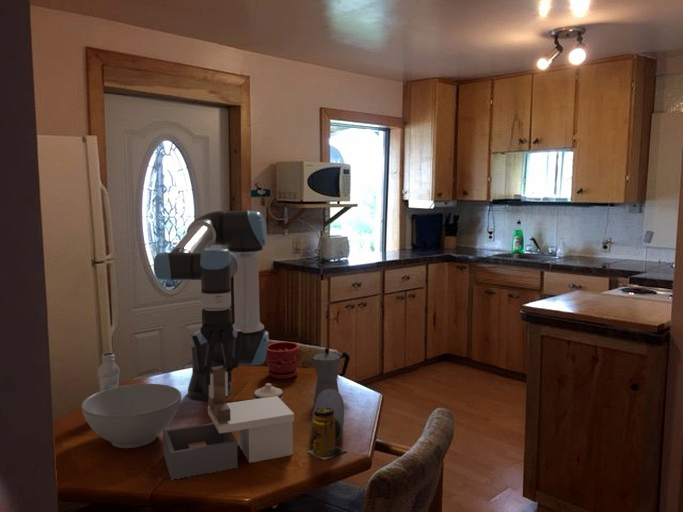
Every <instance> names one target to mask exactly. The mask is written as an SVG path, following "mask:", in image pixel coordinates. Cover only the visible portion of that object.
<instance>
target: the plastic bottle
mask: <svg viewBox="0 0 683 512" xmlns="http://www.w3.org/2000/svg"><path fill="white" fill-rule="evenodd" d="M115 358H116V356H115V353H114V352H106V353H102V354H101V362H102V363H101V364H100V365H99V367H98V369H97V376H98V383H99V388H100V389H99V390H100V391H103V390H107V389H110V388H114V387H119V386H120V385H119V384H120V383H119V381H120V380H119V379H120V367H119V366H118V364H117V363H116V362H115V360H116V359H115Z"/></svg>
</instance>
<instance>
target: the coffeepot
mask: <svg viewBox="0 0 683 512" xmlns="http://www.w3.org/2000/svg"><path fill="white" fill-rule="evenodd" d="M324 351H325V352H324V353H323V352H321V353H318V354H315V355H313V357H311V358H310V359H308V361H309V362H310V363H311V364H312V366H313V367H314V369H315V371H316V379H317V380H316V385H315V391H314V396H313V397H314V402H316V399H317V397H318V395H319V394H320V393H321V392H322V391H323V390H326V389H334V390H336V391H338V392H339V393H340V391H339V385H338V380H337V378H338V376H340V377H342V376H346V373H347V369H348V366H349V362H350V358H351V357H350V355H349V354H348V353H347V352H346V351H345V352H338V353H332V352H330V348H329V347H326V348H324ZM341 359H344V361H343V366H342V372H340V373H339V370H340V369H339V368H340V362H341Z"/></svg>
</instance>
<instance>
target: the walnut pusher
mask: <svg viewBox="0 0 683 512" xmlns="http://www.w3.org/2000/svg"><path fill="white" fill-rule="evenodd" d="M211 371H212V373H213V384H214V398H211V397H210V396H209V394H208V400H207V406H209V407H210V408H211V410H212V412H213V414H214V415H215V417H216V419H217V420H218V422H226V421H231V419H230V408H229V407H228V405H227V404H226V403H227V402H226V401H227V400H226V397H225V369H224V367H223V366H217V367H211Z"/></svg>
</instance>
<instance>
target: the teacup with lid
mask: <svg viewBox="0 0 683 512" xmlns="http://www.w3.org/2000/svg"><path fill="white" fill-rule="evenodd" d="M283 395H284V392H283V390H282V389H281V388H279V387H275V386H273V385H272V383H269V382H267V383H265V384H264V386H262V387H261V388H258V389H256V390H255V391H254V392H253V398H254V399H260V398H267V397H274V396H278V397H279V398H280V399H281V400H282V401H283Z"/></svg>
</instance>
